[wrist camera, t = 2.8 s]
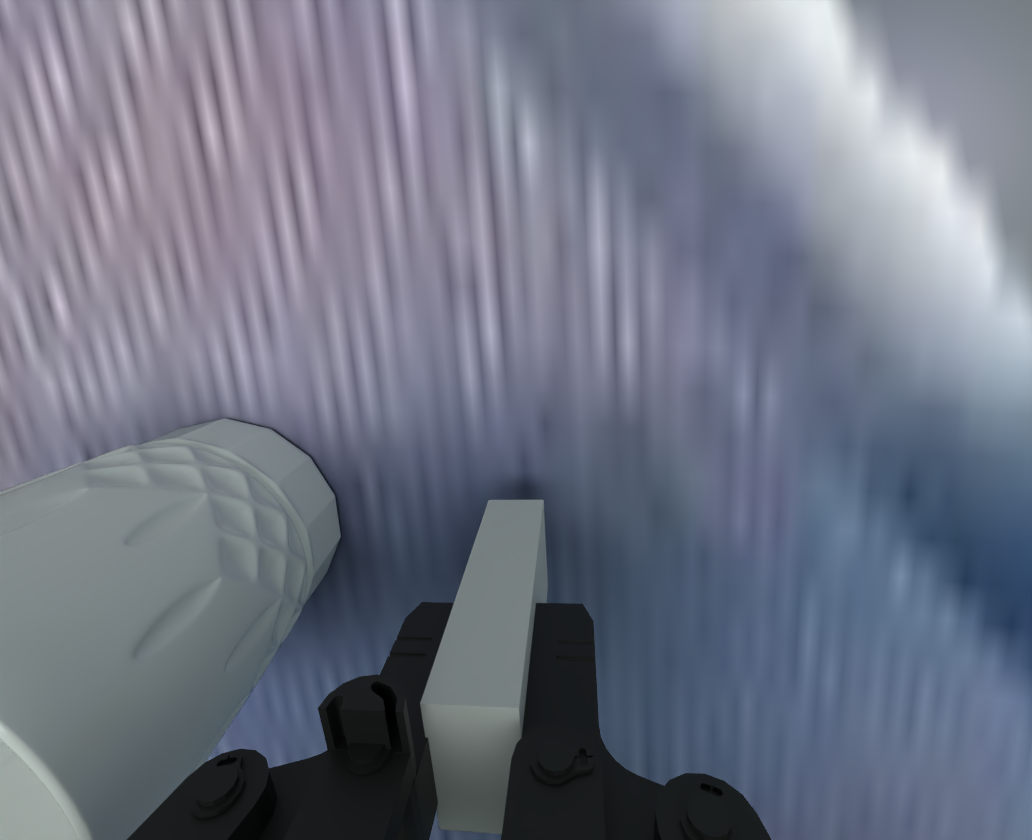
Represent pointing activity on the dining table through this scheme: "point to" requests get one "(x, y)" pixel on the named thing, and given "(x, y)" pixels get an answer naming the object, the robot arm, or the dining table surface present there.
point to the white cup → (145, 617)
